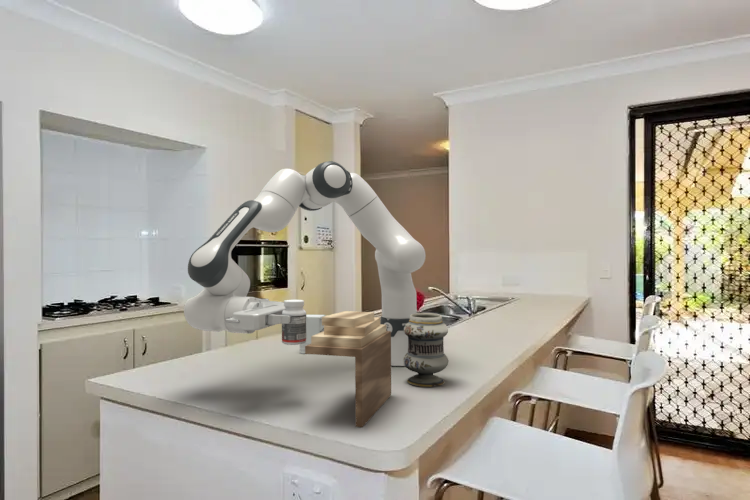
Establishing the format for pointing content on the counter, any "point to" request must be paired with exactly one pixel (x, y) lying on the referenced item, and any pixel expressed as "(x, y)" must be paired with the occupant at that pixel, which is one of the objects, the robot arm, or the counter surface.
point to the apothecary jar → (425, 349)
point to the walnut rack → (366, 373)
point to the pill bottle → (294, 323)
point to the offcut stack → (349, 329)
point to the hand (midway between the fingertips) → (297, 317)
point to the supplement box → (312, 329)
